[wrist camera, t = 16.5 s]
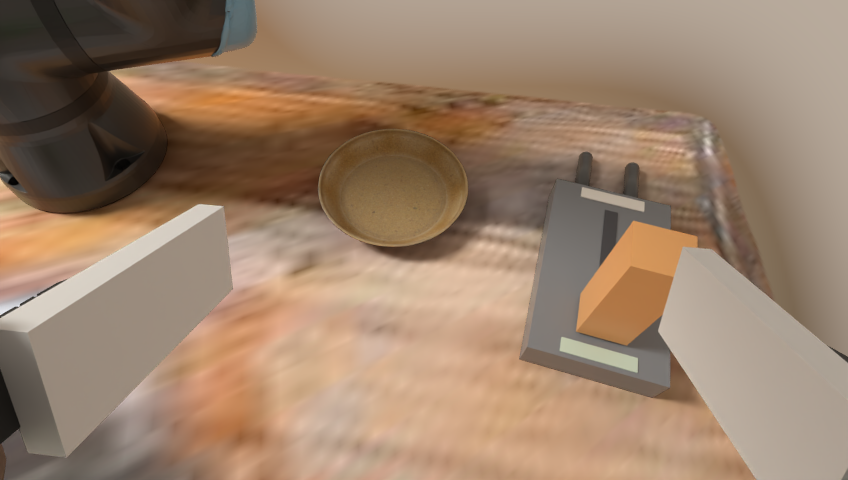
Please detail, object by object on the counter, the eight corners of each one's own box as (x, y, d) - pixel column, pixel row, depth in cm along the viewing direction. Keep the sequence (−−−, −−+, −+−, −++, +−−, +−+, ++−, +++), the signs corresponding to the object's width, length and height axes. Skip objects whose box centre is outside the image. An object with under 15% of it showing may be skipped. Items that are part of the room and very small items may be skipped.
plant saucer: (479, 164, 51) (483, 147, 49) (444, 278, 44) (446, 264, 41) (353, 132, 53) (350, 115, 51) (297, 237, 45) (292, 221, 43)
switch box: (652, 397, 38) (670, 387, 36) (519, 359, 39) (527, 346, 37) (657, 175, 51) (671, 155, 48) (557, 151, 52) (565, 131, 50)
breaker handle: (626, 345, 37) (698, 283, 28) (575, 331, 37) (630, 265, 28) (628, 306, 39) (697, 236, 30) (580, 293, 39) (633, 220, 30)
